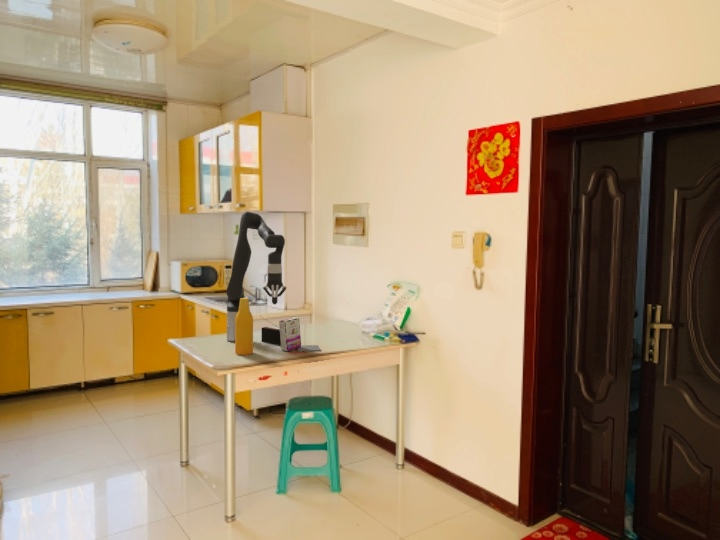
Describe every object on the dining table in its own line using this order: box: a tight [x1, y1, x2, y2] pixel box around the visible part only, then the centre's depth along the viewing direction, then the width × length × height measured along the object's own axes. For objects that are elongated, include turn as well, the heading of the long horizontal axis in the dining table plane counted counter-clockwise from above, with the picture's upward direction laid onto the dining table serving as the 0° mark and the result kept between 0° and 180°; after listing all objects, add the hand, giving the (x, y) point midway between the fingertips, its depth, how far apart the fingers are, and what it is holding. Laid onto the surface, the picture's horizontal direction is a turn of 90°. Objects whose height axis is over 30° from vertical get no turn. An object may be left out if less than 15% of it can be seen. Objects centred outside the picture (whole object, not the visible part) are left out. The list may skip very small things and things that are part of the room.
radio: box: [259, 315, 281, 347], centre depth 300 cm, size 19×3×15 cm, turn 56°
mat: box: [296, 344, 322, 353], centre depth 288 cm, size 12×12×1 cm
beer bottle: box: [234, 297, 254, 356], centre depth 274 cm, size 9×9×29 cm
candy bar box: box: [278, 316, 302, 352], centre depth 285 cm, size 11×5×16 cm, turn 143°
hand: (274, 304), depth 282 cm, fingers closed
